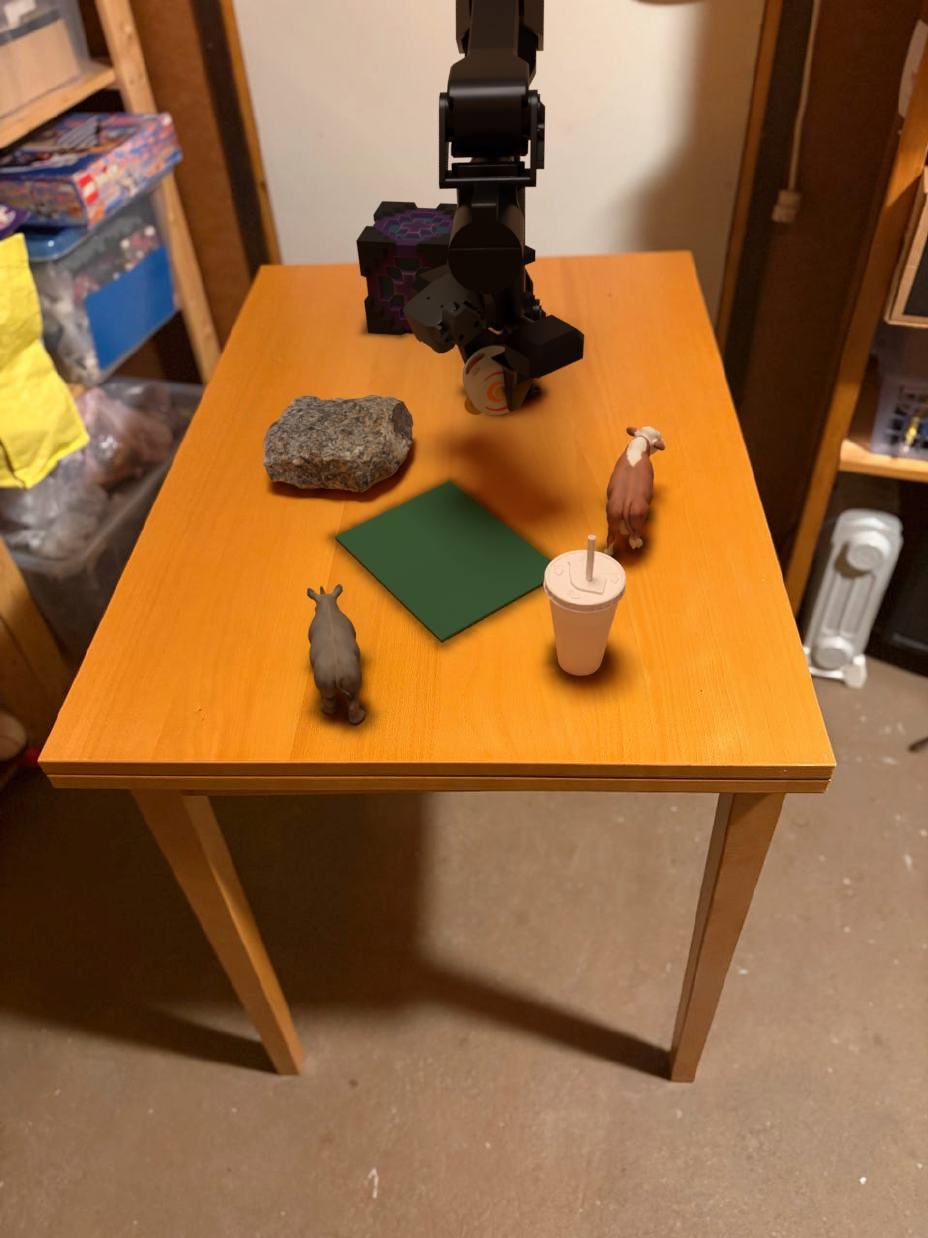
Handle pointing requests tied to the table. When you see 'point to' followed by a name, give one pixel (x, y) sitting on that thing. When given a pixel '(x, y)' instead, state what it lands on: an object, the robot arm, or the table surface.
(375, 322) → the energy cube
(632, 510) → the bull figurine
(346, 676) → the rhino figurine
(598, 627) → the smoothie
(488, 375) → the roller toy
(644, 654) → the table surface
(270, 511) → the table surface
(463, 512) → the cloth
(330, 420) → the rock
